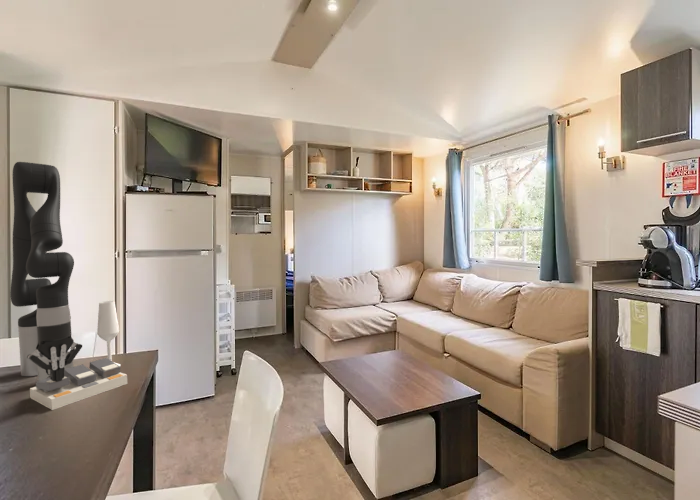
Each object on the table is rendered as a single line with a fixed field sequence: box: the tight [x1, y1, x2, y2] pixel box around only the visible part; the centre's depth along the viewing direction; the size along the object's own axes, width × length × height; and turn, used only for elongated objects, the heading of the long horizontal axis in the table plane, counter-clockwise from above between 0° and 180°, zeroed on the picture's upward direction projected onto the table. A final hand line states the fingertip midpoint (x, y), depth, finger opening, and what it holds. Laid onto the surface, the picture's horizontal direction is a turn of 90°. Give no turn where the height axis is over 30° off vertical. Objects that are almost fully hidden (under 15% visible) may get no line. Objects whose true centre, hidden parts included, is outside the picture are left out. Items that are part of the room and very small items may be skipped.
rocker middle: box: [64, 364, 97, 386], centre depth 112 cm, size 9×5×2 cm, turn 60°
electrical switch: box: [37, 351, 74, 381], centre depth 120 cm, size 9×5×9 cm, turn 141°
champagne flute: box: [96, 300, 121, 367], centre depth 132 cm, size 7×7×24 cm
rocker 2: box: [88, 357, 121, 378], centre depth 118 cm, size 9×5×2 cm, turn 60°
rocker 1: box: [35, 377, 70, 391], centre depth 106 cm, size 9×5×2 cm, turn 59°
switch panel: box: [29, 369, 129, 411], centre depth 112 cm, size 15×20×4 cm
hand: (57, 381), depth 104 cm, fingers closed
